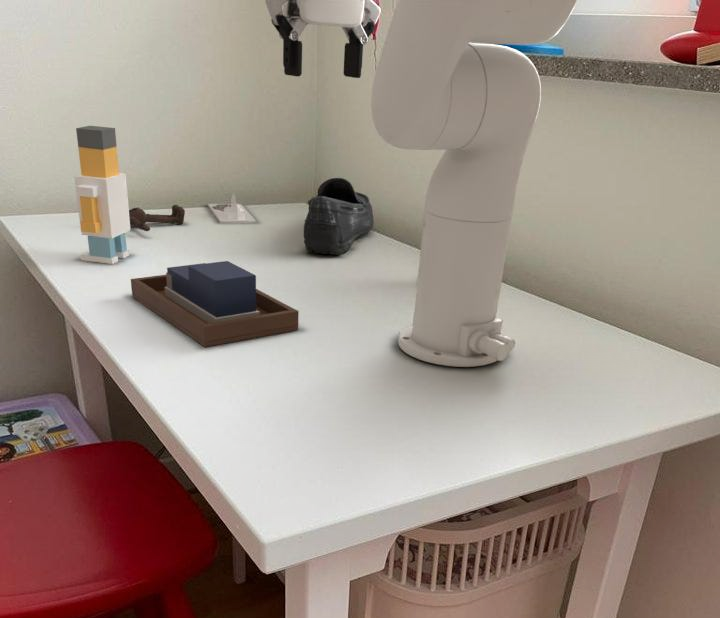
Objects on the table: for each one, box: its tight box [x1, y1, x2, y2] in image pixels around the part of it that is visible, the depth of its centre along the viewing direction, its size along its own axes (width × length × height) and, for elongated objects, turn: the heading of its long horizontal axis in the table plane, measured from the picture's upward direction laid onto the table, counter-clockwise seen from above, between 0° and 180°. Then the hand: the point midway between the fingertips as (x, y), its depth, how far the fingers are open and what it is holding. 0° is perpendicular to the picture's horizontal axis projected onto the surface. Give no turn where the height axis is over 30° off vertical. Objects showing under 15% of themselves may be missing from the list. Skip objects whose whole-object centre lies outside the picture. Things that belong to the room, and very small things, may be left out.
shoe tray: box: [130, 274, 300, 348], centre depth 97 cm, size 21×13×2 cm, turn 37°
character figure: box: [74, 125, 131, 265], centre depth 112 cm, size 8×10×18 cm
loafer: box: [303, 177, 375, 256], centre depth 134 cm, size 10×29×10 cm, turn 174°
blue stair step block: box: [165, 260, 260, 324], centre depth 96 cm, size 6×14×6 cm, turn 37°
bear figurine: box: [129, 204, 186, 232], centre depth 134 cm, size 18×4×14 cm
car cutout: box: [207, 193, 257, 225], centre depth 146 cm, size 15×7×4 cm, turn 18°
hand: (323, 76), depth 103 cm, fingers open, 9 cm apart
